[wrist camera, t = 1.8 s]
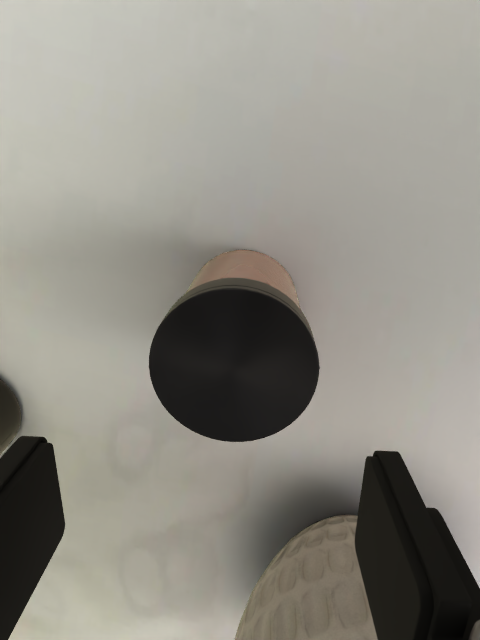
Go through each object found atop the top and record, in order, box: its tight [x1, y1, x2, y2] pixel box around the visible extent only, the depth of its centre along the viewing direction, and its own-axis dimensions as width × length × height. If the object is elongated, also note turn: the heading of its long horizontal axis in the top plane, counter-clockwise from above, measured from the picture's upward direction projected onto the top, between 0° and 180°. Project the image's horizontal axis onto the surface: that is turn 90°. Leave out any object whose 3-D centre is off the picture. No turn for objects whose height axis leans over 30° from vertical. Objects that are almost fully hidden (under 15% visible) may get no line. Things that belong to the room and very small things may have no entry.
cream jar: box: [186, 250, 301, 310], centre depth 22 cm, size 6×6×8 cm
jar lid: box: [149, 278, 320, 442], centre depth 18 cm, size 7×7×2 cm
